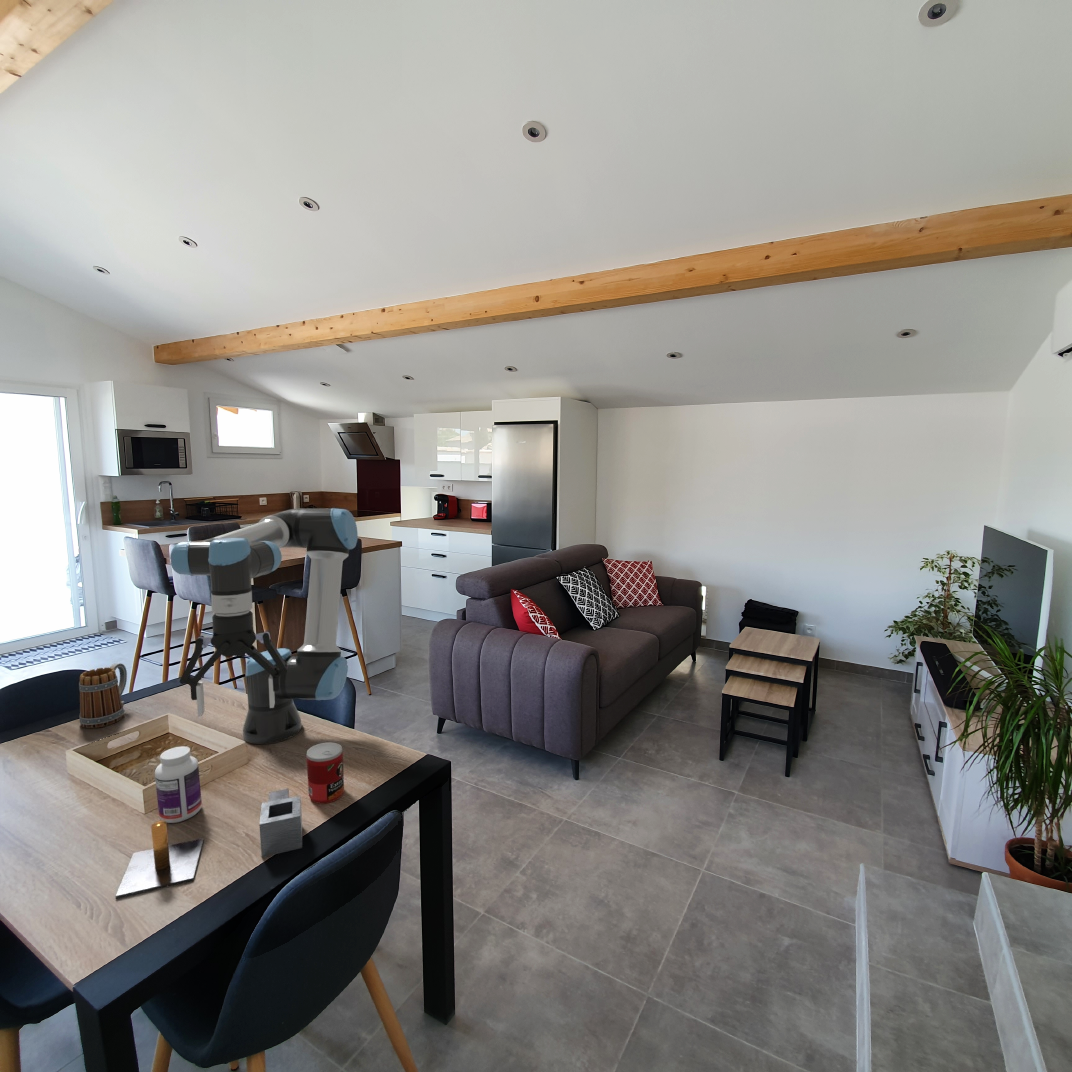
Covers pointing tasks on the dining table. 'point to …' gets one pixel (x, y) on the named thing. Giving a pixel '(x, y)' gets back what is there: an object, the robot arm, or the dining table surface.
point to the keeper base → (160, 877)
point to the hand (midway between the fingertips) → (237, 709)
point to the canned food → (325, 772)
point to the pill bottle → (178, 785)
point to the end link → (281, 826)
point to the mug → (102, 696)
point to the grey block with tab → (278, 795)
